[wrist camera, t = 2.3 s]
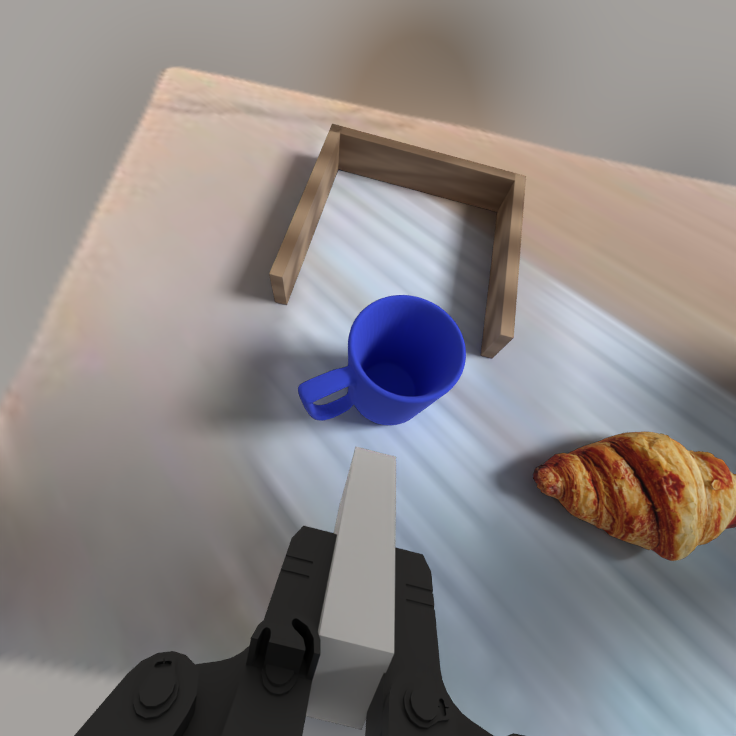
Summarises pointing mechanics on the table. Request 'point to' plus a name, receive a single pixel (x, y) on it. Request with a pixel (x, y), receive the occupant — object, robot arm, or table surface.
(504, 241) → the box
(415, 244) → the table surface
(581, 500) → the croissant
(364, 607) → the robot arm
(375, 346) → the mug
